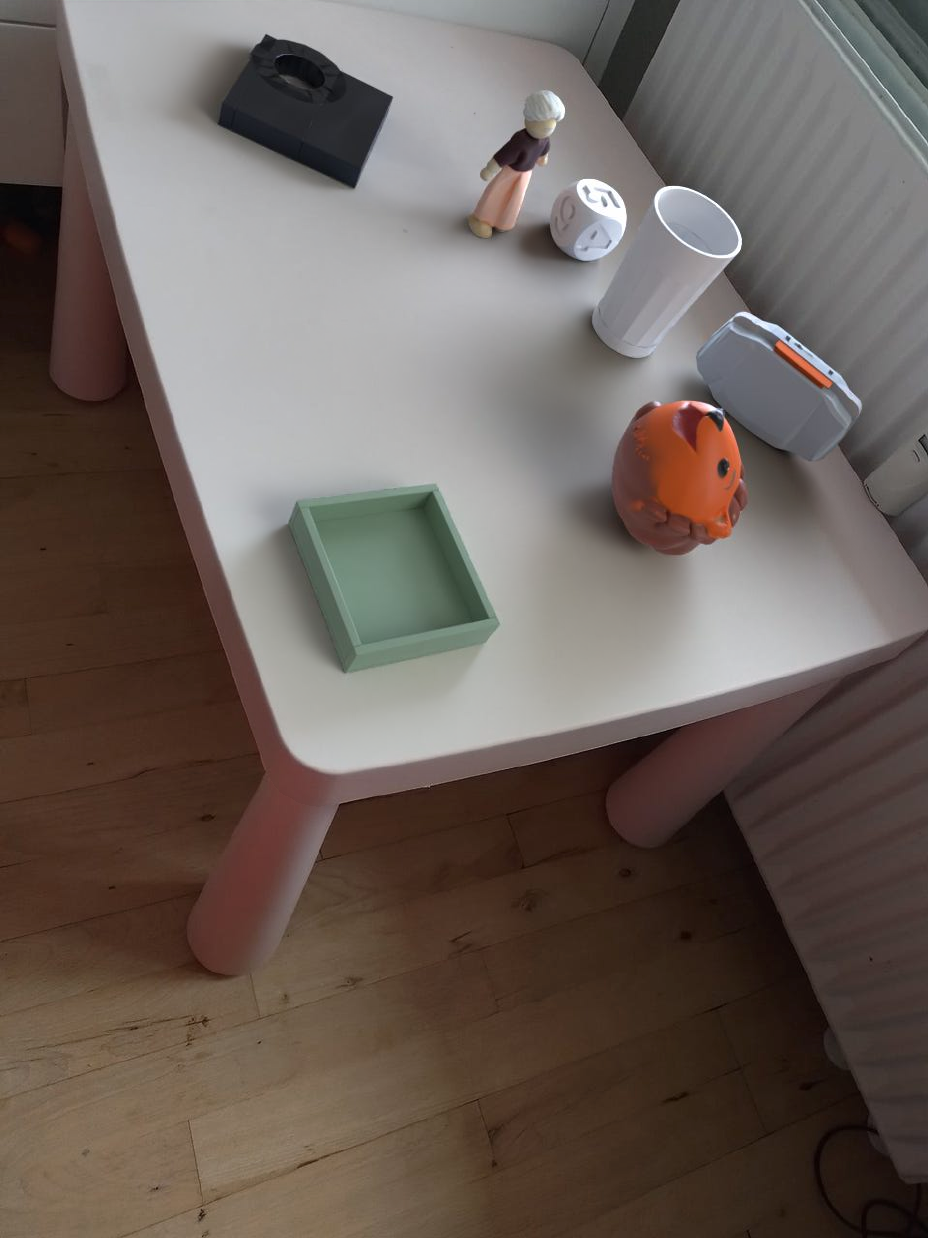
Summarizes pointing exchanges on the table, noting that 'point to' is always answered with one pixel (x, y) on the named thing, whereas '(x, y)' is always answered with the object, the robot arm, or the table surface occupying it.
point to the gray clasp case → (777, 387)
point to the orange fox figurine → (678, 476)
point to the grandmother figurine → (516, 166)
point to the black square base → (306, 109)
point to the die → (587, 219)
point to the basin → (391, 575)
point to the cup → (665, 270)
